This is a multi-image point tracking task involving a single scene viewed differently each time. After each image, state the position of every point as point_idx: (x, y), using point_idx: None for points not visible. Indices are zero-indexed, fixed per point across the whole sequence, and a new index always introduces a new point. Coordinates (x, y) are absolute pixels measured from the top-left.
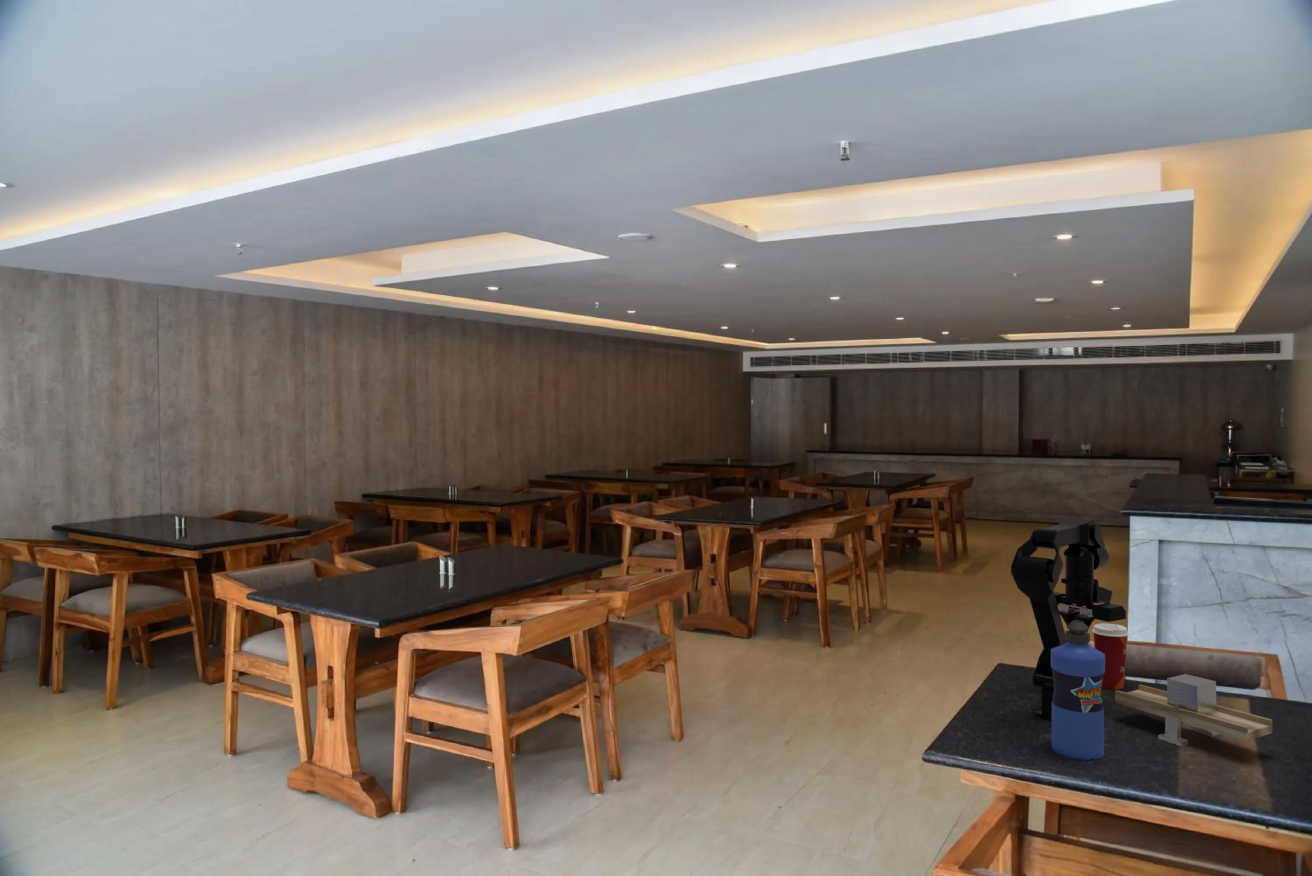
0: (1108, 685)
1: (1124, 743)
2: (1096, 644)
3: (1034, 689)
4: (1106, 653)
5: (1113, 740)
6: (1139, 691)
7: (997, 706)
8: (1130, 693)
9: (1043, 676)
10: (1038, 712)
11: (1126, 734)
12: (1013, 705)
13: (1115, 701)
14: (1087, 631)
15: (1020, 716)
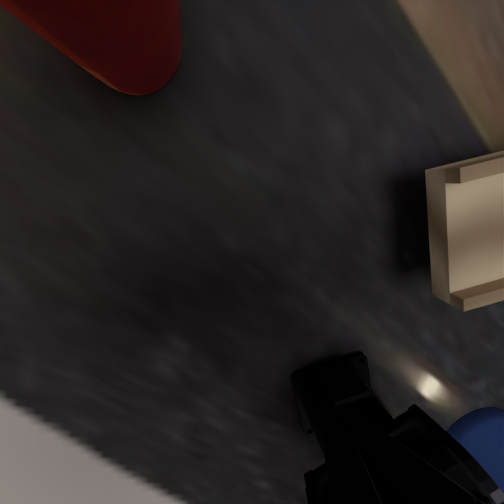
0: (166, 81)
1: (494, 348)
2: (23, 4)
3: (119, 333)
4: (134, 17)
5: (475, 358)
6: (460, 196)
7: (228, 479)
8: (459, 242)
9: (321, 494)
10: (308, 428)
11: (466, 312)
12: (232, 445)
13: (436, 296)
14: (464, 490)
15: (301, 461)
